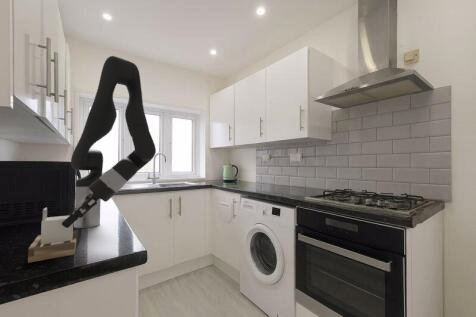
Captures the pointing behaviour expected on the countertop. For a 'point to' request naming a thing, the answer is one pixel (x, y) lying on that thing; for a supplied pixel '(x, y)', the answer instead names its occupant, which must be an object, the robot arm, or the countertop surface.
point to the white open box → (54, 230)
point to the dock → (51, 249)
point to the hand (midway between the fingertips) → (65, 223)
